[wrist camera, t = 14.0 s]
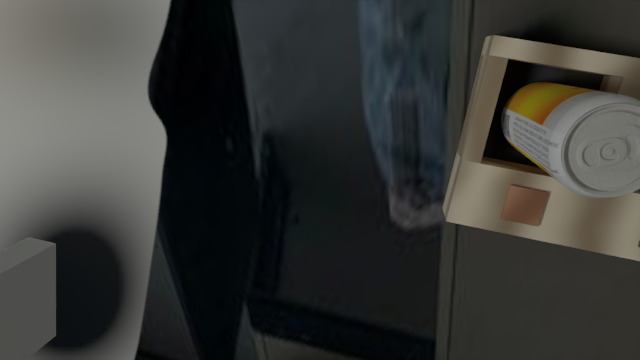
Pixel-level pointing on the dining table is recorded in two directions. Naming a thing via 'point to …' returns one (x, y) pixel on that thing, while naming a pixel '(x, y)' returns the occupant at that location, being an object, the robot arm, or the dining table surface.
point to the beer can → (577, 136)
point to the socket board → (533, 182)
